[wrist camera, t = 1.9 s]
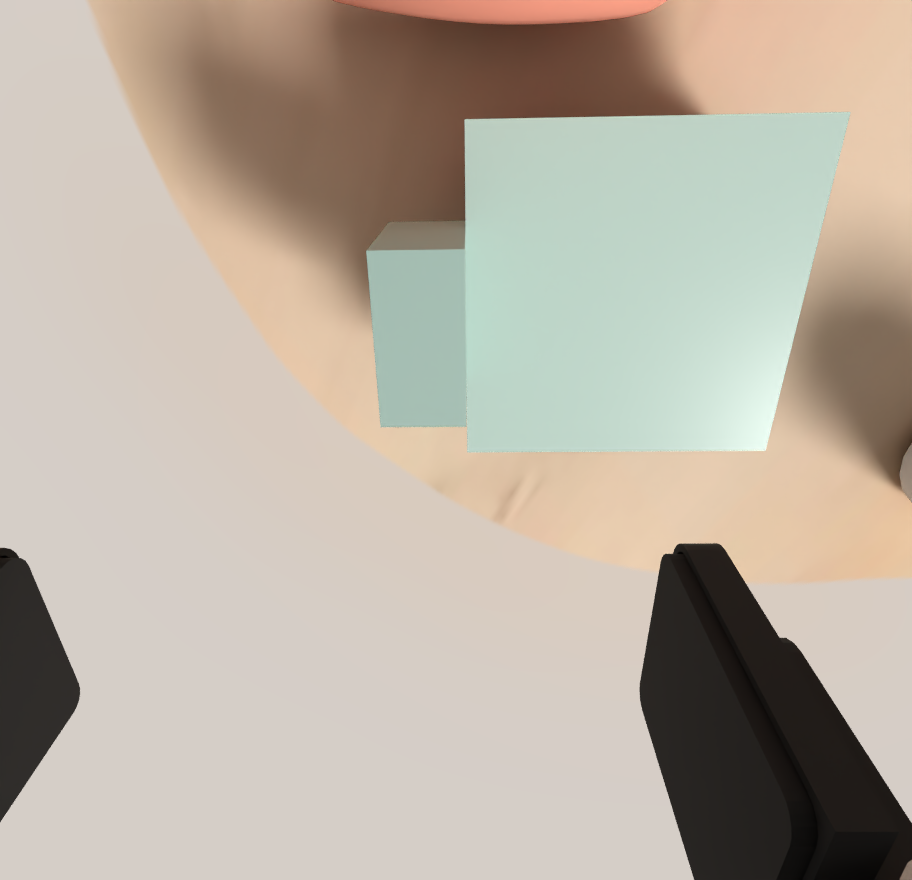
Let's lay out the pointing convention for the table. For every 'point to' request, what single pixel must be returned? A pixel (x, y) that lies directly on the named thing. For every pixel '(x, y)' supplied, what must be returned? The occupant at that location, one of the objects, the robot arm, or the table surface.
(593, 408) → the mint green stepped block
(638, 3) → the teapot
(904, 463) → the can
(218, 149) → the table surface
